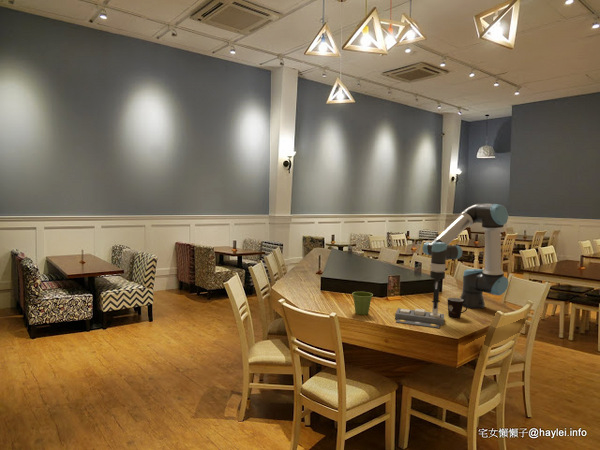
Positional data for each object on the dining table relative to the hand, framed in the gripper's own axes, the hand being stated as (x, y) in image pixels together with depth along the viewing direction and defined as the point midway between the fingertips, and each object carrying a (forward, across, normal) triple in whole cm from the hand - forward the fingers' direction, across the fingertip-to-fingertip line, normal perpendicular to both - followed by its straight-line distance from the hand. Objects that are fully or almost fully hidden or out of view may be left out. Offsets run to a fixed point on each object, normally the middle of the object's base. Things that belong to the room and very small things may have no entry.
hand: (435, 313), depth 234 cm
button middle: (+2, 0, -8) cm, 8 cm away
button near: (+3, 0, 0) cm, 3 cm away
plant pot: (+4, +4, -39) cm, 40 cm away
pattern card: (+4, +9, -8) cm, 13 cm away
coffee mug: (+4, -13, +11) cm, 17 cm away
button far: (+3, 0, -16) cm, 16 cm away
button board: (+4, 0, -8) cm, 9 cm away
